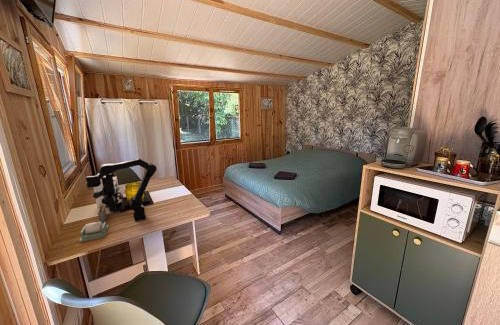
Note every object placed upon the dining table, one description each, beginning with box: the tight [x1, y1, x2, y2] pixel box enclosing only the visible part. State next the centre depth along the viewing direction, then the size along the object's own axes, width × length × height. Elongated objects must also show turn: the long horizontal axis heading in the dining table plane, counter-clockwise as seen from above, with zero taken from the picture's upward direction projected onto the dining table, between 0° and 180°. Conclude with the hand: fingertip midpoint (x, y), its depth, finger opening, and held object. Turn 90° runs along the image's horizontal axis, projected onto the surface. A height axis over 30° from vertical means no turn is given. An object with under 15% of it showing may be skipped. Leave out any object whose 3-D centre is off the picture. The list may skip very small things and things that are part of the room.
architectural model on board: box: [97, 204, 107, 224], centre depth 143 cm, size 11×3×10 cm, turn 27°
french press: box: [104, 180, 125, 213], centre depth 155 cm, size 12×9×23 cm
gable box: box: [93, 175, 120, 208], centre depth 171 cm, size 22×13×28 cm, turn 27°
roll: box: [84, 221, 103, 234], centre depth 125 cm, size 7×6×6 cm
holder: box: [78, 221, 110, 243], centre depth 126 cm, size 12×13×4 cm
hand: (112, 208), depth 133 cm, fingers open, 9 cm apart
